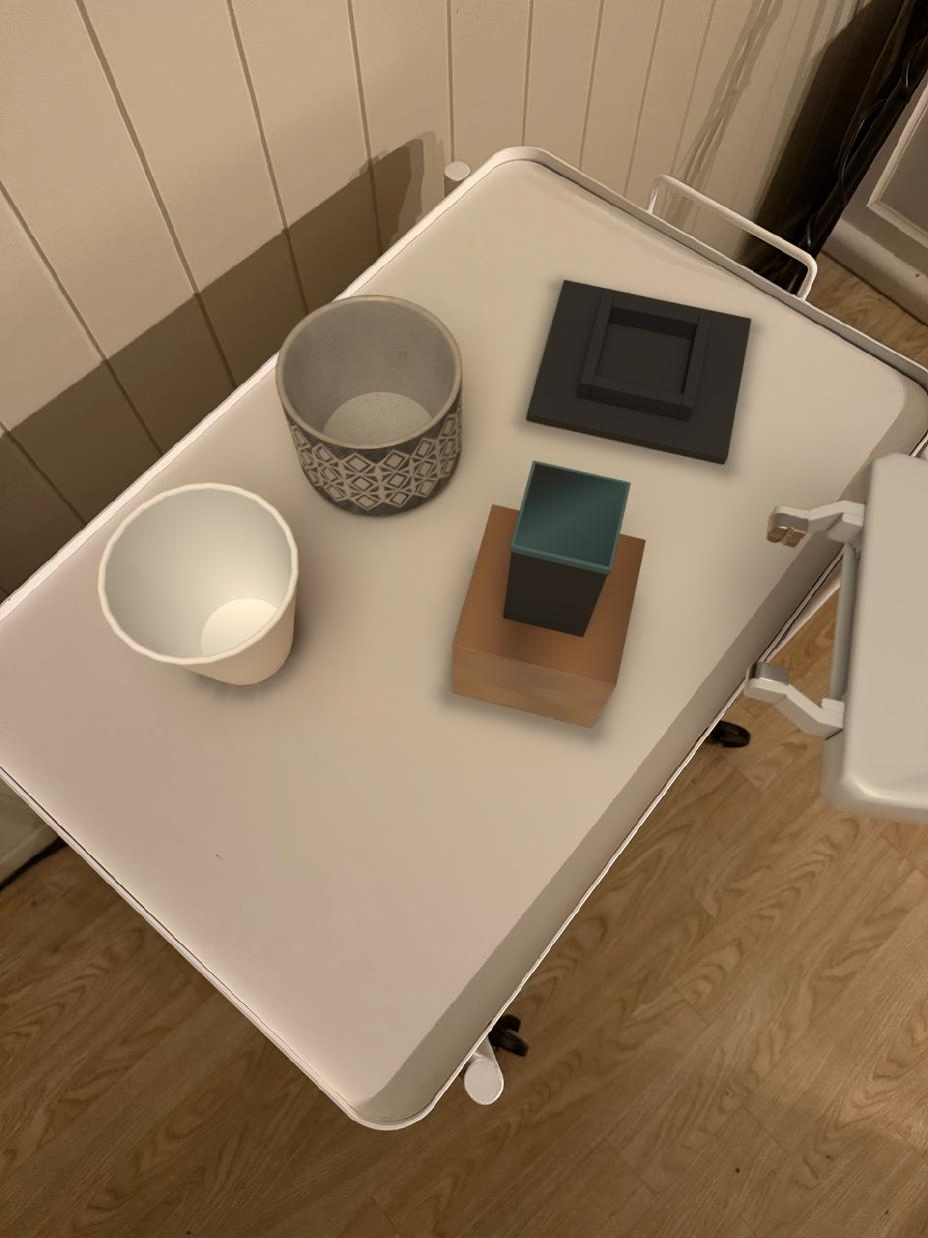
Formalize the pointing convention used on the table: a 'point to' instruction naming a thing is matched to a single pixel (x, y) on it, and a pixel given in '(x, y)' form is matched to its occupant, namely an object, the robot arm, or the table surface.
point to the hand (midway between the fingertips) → (759, 597)
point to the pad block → (563, 547)
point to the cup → (204, 582)
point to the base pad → (641, 371)
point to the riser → (541, 637)
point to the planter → (373, 402)
